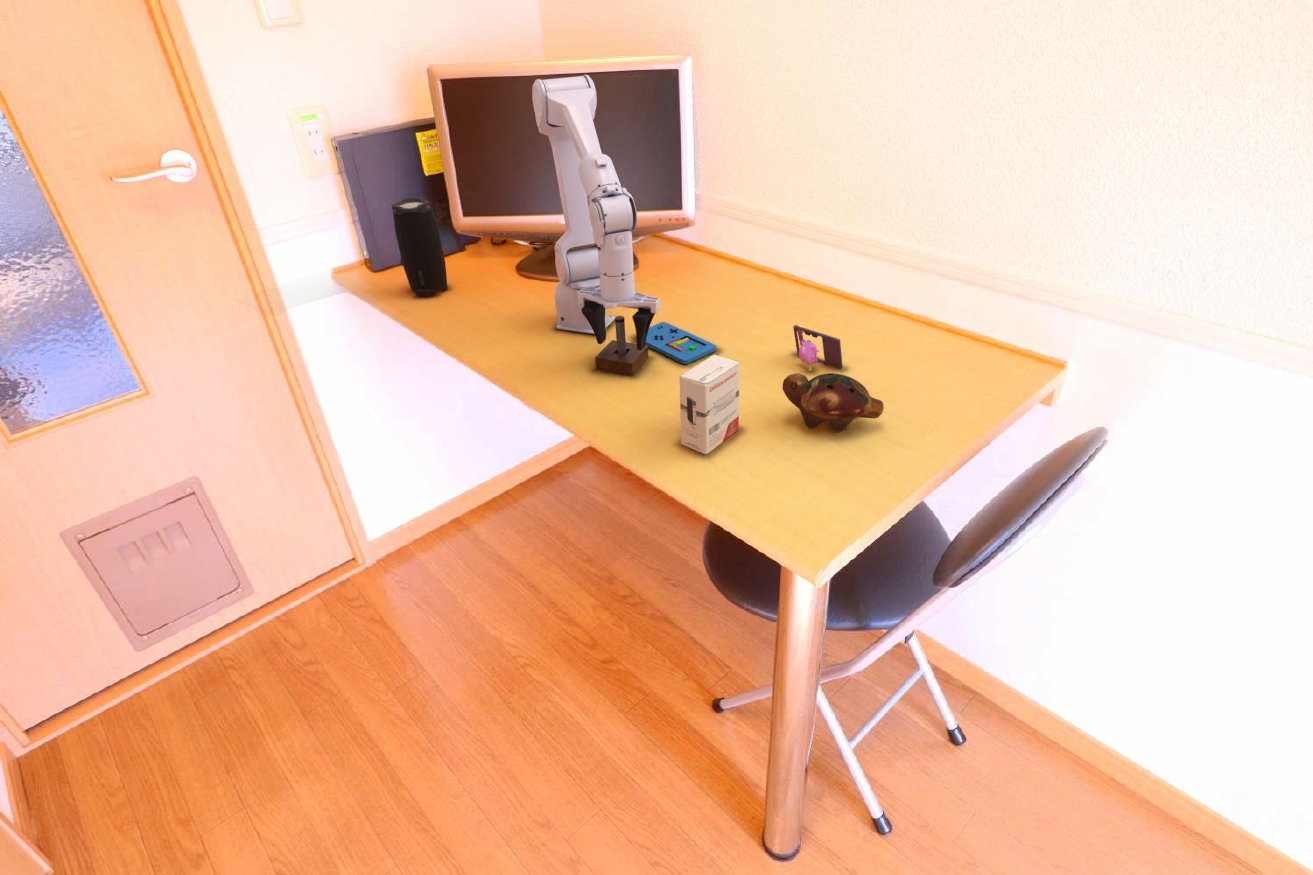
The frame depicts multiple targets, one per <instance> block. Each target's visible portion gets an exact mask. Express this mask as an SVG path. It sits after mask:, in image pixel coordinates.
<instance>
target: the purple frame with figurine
mask: <svg viewBox="0 0 1313 875" xmlns="http://www.w3.org/2000/svg"><path fill="white" fill-rule="evenodd" d="M792 328H793V334H794V342H795V346H796V353H797V355H798V356H799V359H800V360H801V361H802V363H803V364H805V365H808V372H812V370H813V365H814V364H815V363H816V362H818V363H823V364H826V365H828V366H831V367H834V368H836V369H839V370H842V369H843V367H844V366H843V356H842V355H843V354H842V346H841V345H842V344H841V339H840V338H838V337H835V336H831V335H828V334H825V333H821V332H818V331H815V330H812V329H809V328H806V327H803V326H802V325H796V324H795V325H793V327H792ZM803 334H805V335H806V336H812V338H815V339H818V338H819V337H820V338H821V341H822V349H823V358H824V359H821V358H819V357H817V356H818V354H817V353H819V352H820V350H819V349H818V346H817V345H816V343H815V342H813V341H811V340H809V339H804V335H803Z"/></svg>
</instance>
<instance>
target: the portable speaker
mask: <svg viewBox="0 0 1313 875" xmlns="http://www.w3.org/2000/svg"><path fill="white" fill-rule="evenodd" d="M391 210H392V216H393V224H394V233H395V238H396V241H397V246H398V250H399V254H400V258H401V263H402V267H403V270H404V273H405V275H406V279H407V281H408V284H409V287H410V289H411V291H413V293H414V294H415V295H416V296H417V297H419V298H431V297H436V294H437V293H438V292H440V291H442V290H444V291H447V290H448V276H447V266H446V258H445V254H444V250H443V249H444V248H443V244H442V239H441V234H440V230H439V226H438V222H437V219H436V217H435V213H434V210H433V207H432V204H431V201H430V200H427V199H425V198H422V197H420V196H410V197H406V198H402V199H401V200H400V201H398V202H395V203H392V204H391Z"/></svg>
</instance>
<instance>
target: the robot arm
mask: <svg viewBox="0 0 1313 875" xmlns="http://www.w3.org/2000/svg"><path fill="white" fill-rule="evenodd" d="M531 88H532V89H531V90H532V92H531V94H532V105H533V110H534V116H535V122H536V126H537V128H538V132H539V134H542V135H545V136H547V137H548V139H549V144H550V147H551V152H552V157H553V162H554V169H555V174H556V179H557V185H558V190H559V191H558V192H559V196H560V202H561V207H562V214H563V220H564V224H565V225H564V226H565V232H564V233H563V234H562V235H561V236H560V237H559V239H557V241H555V244H554V247H553V248H554V256H555V257H554V258H555V259H554V264H555V270H556V275H557V277H558V279H559V281H558V282H557V284H556V286H555V291H554V304H555V311H556V312H555V313H556V320H557V325H556V326H555V328H556V329H557V330H563V331H568V332H569V331H570V332H576V333H583V334H588V335H589V334H590V335H594V337H595V339H596V341H597V344H598V345H602V344H603V343H604V342H605V341H606V340H607V328H608V327H609V326H610V325H611V324H612V323H614V322H615V317H616V316H613V315H608V310H607V309H610V310H611V309H612V310H613V309H616V308H624V309H625V308H626V309H632V310H633V309H634V310H637V311H636V312H635V313H634V314H633V315H632V317H631V318H632V321H633V325H634V329H635V335H636V336H635V337H636V338H635V339H636V344H637V349H638V350H642V349H643V348H644V347H645V346H646V338H647V334H648V330H649V327H651V324H652V321H653V319H654V317H655V314H657V313H658V312H659V311H660V310H661V298H659V297H655V296H650V295H648V294H645V293H642V292H639V291H636V288H635V287H636V285H635V284H636V283H635V269H634V251H633V247H634V246H633V232H632V231H635V230H636V228H637V225H638V212H637V206H636V203H635V200H634V198H633V196H632V194H631V193H630V192H628V190H627V188H626V187H622V185H621V182H620V179H619V176H618V174H617V172H616V168H615V166H614V163H613V161H612V159H611V157H610V156H609V155H607V154H605V153H602V149H601V146H600V141H599V137H598V134H597V131H596V127H595V123H594V119H595V116H596V109H597V104H598V97H597V89H596V86H595V83H594V81H593V79H592V77H590V75H588V74H583V75H579V76H569V77H558V78H548V79H541V78H537V79H535V80H534V83H533V84H532V87H531ZM589 245H590V246H589ZM583 246H585V247H583ZM575 247H578V248H575Z"/></svg>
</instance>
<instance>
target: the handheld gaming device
mask: <svg viewBox="0 0 1313 875" xmlns="http://www.w3.org/2000/svg"><path fill="white" fill-rule="evenodd" d="M646 345H648V348H650V349H652V350H654V351H656V352H658V353H660V354H662V355H664V356H666V357H668V358H669V359H672V360H674V361H676V362H678V363H680V364H683V365H687V364H688V365H689V364H691V363H693V362H694V361H696V360H699V359H701V358H703V357H706V356H708V355H710V354H712V353H714V352H716V351H717V345H716V344H714V343H712V342H710V341H708V340H705V339H703V338H701V337H700V336H696V335H694V334H692V333H690V332H688V331H686V330H684V329H681V328H679V327H677V326H674V325H672V324H671V323H668V322H666V321H661V322H659V323H656V324H654V325H653V324H652V325H650V327H649V330H648V334H647V338H646Z"/></svg>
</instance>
